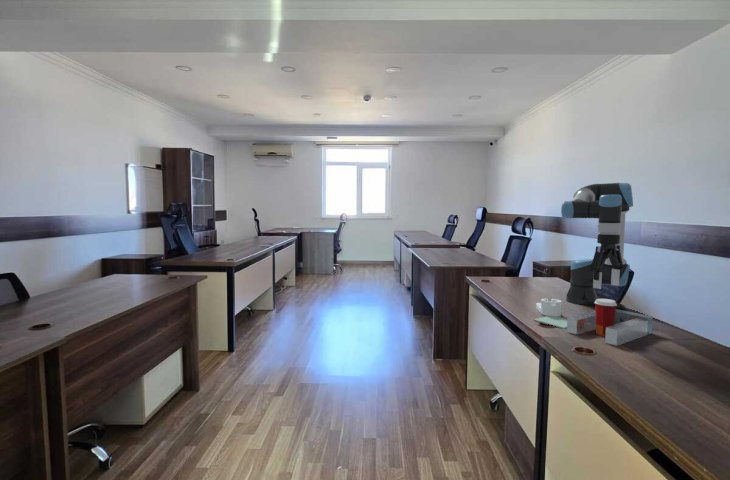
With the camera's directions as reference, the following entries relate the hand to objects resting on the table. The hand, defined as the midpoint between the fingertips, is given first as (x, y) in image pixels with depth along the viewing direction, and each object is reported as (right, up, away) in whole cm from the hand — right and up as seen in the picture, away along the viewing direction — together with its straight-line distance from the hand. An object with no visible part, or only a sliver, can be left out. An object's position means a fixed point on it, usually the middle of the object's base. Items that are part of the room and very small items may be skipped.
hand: (606, 286), depth 153 cm
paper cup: (0, -20, +2) cm, 20 cm away
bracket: (-6, -17, +35) cm, 40 cm away
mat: (-10, -18, +19) cm, 28 cm away
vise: (+7, -19, +6) cm, 21 cm away
